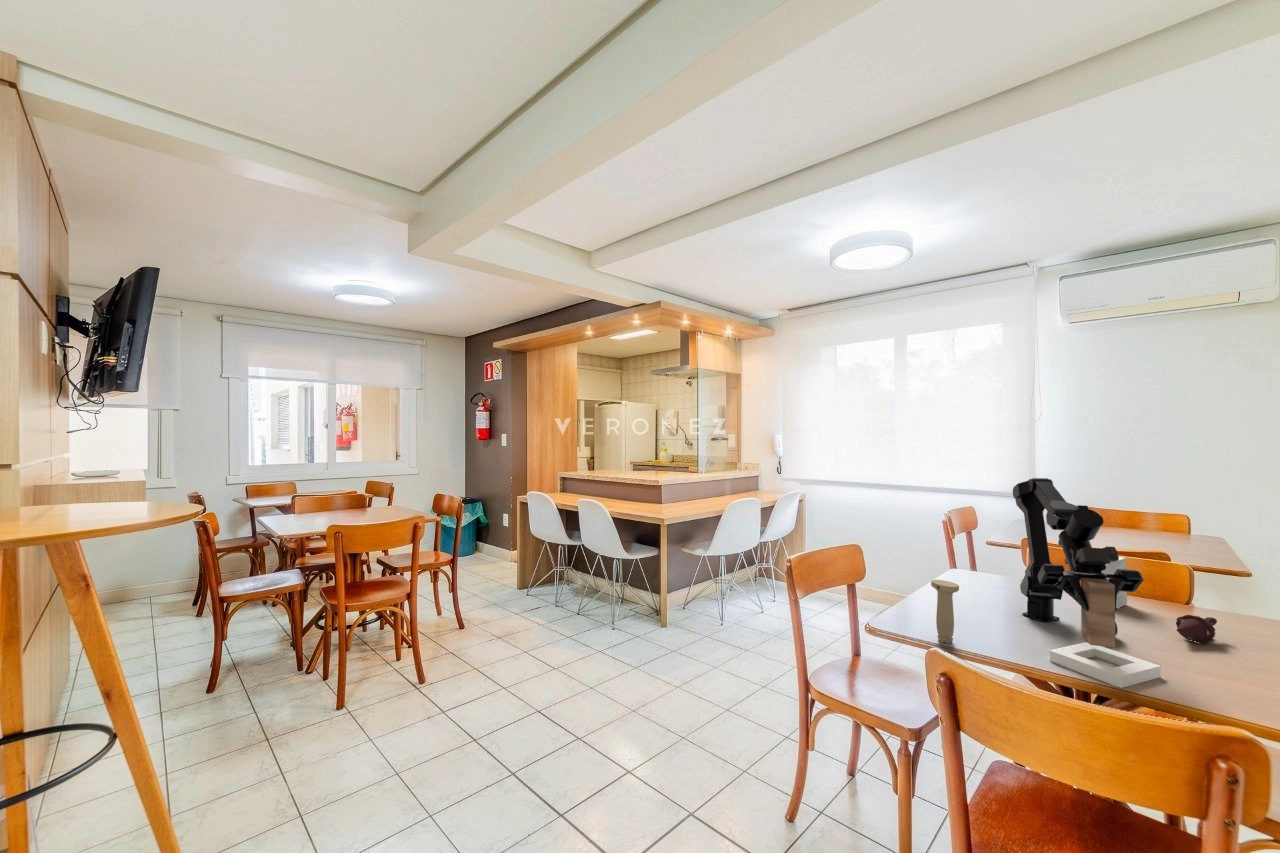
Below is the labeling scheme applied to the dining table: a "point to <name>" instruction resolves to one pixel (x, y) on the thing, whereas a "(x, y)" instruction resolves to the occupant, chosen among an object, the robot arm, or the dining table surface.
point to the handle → (945, 609)
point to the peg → (1098, 612)
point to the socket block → (1105, 664)
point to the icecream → (1196, 628)
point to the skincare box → (1112, 569)
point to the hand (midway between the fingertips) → (1100, 611)
